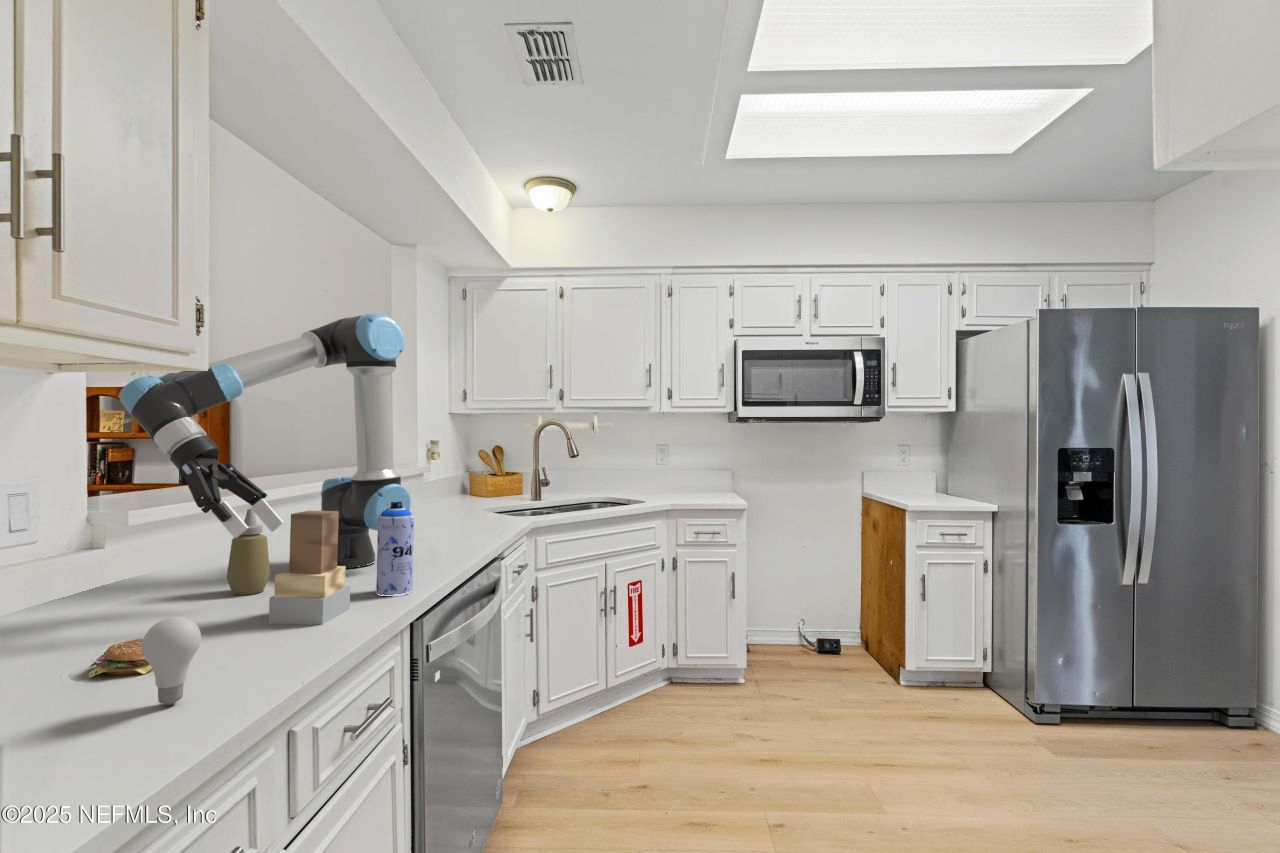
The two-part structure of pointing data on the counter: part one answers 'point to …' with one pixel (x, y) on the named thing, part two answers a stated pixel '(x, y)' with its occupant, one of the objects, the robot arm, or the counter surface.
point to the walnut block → (313, 542)
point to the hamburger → (122, 659)
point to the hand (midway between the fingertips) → (261, 530)
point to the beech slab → (309, 584)
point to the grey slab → (309, 608)
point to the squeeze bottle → (249, 559)
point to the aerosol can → (395, 550)
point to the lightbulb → (171, 655)
